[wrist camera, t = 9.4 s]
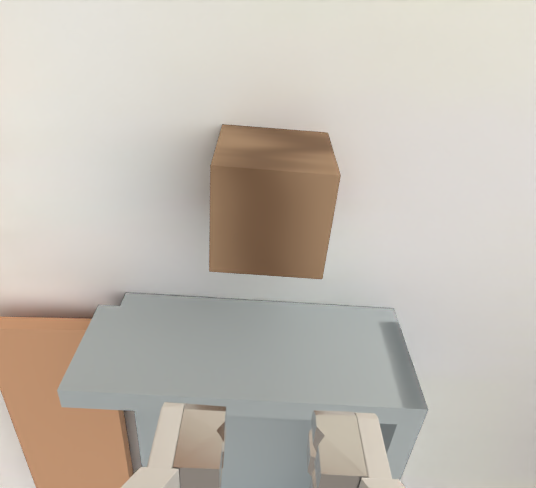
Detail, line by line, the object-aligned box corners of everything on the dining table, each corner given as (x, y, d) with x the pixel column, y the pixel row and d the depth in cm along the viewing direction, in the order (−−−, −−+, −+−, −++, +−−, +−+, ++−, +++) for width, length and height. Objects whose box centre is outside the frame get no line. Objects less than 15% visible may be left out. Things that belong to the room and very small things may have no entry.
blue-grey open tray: (393, 308, 28) (428, 409, 22) (338, 504, 39) (350, 604, 33) (105, 291, 27) (56, 390, 21) (136, 494, 39) (111, 595, 33)
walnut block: (327, 132, 22) (340, 175, 18) (313, 222, 25) (322, 279, 20) (222, 123, 22) (210, 165, 17) (220, 216, 24) (209, 271, 20)
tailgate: (105, 330, 26) (-22, 328, 26) (133, 506, 37) (43, 506, 36) (110, 314, 28) (-11, 311, 27) (137, 488, 38) (49, 489, 37)
